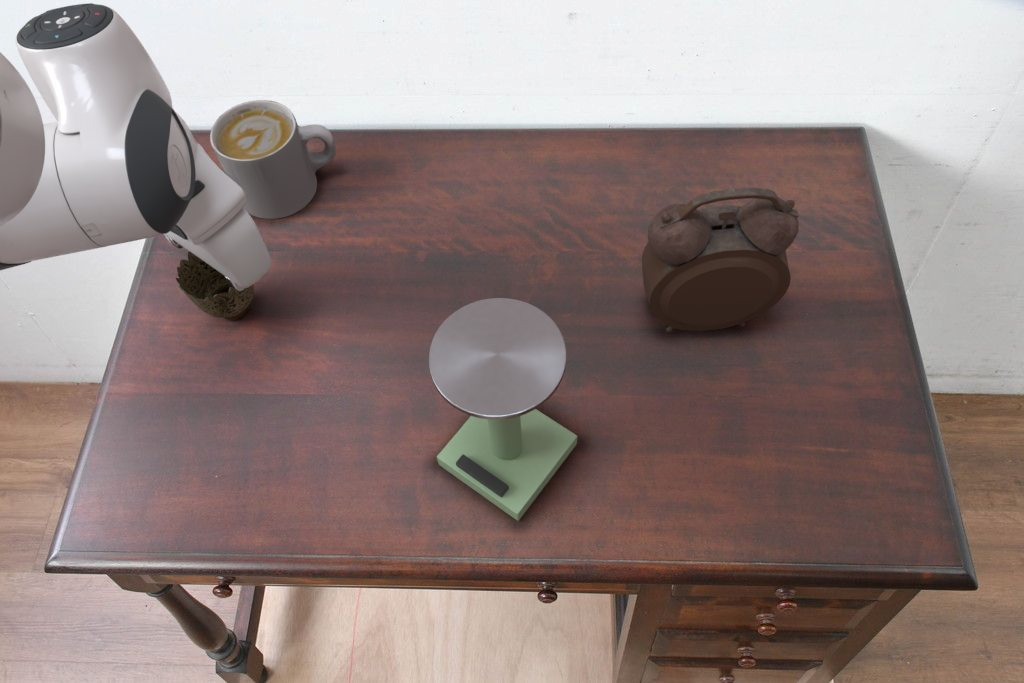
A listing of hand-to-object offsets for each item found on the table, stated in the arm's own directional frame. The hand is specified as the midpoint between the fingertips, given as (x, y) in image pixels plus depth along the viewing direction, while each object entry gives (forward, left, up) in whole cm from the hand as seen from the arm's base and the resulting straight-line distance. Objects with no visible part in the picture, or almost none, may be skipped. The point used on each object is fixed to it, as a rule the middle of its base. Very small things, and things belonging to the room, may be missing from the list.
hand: (210, 262), depth 84 cm
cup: (0, 0, -9) cm, 9 cm away
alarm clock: (+30, -43, -9) cm, 53 cm away
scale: (+4, -36, -9) cm, 37 cm away
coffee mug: (+17, +8, -9) cm, 21 cm away
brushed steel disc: (+4, -36, +10) cm, 37 cm away
